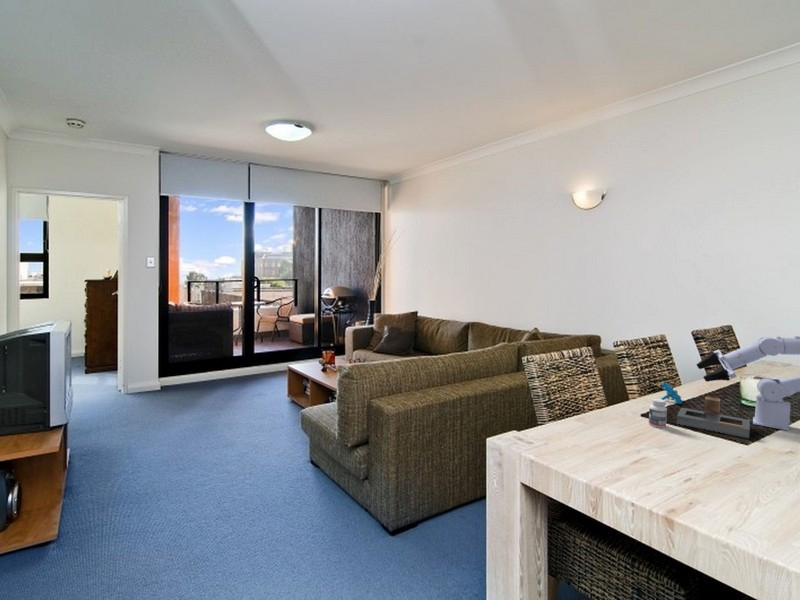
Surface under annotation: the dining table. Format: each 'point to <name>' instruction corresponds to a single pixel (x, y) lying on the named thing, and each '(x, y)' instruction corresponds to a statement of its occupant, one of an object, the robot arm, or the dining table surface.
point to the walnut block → (712, 405)
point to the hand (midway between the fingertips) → (701, 373)
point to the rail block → (714, 422)
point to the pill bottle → (658, 413)
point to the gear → (671, 393)
